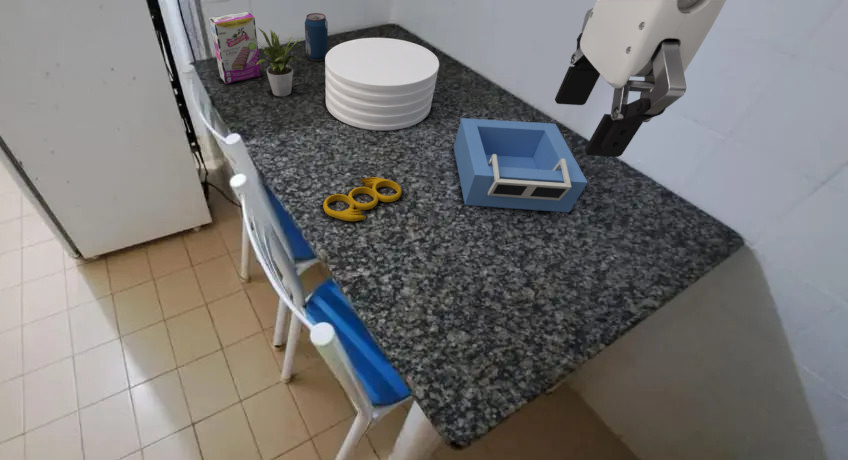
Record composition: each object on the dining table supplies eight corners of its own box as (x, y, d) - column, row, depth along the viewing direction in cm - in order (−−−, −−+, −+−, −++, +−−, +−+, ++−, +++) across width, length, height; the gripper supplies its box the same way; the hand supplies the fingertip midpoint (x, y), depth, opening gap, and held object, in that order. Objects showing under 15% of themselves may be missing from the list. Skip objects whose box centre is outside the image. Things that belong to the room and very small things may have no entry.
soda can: (331, 54, 126) (331, 14, 117) (322, 63, 121) (321, 21, 113) (311, 51, 127) (310, 11, 119) (302, 59, 123) (300, 18, 114)
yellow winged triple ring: (314, 197, 78) (335, 229, 72) (314, 191, 77) (335, 223, 70) (386, 176, 83) (412, 205, 77) (387, 170, 82) (413, 199, 75)
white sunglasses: (559, 200, 73) (571, 187, 69) (488, 195, 73) (496, 182, 70) (553, 172, 76) (565, 158, 72) (485, 168, 76) (492, 153, 73)
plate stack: (452, 114, 100) (463, 70, 92) (357, 141, 91) (360, 95, 83) (393, 71, 118) (397, 31, 109) (308, 90, 109) (306, 48, 100)
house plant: (241, 92, 108) (230, 29, 96) (277, 75, 115) (271, 15, 103) (277, 109, 102) (270, 44, 90) (312, 90, 109) (310, 27, 97)
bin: (541, 152, 89) (555, 123, 84) (569, 212, 75) (587, 182, 70) (453, 147, 90) (461, 117, 85) (464, 205, 77) (474, 174, 71)
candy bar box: (226, 85, 110) (213, 23, 98) (220, 78, 113) (207, 17, 101) (262, 76, 114) (254, 15, 103) (255, 70, 117) (247, 10, 106)
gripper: (851, -58, 22) (662, 182, 34) (688, -100, 34) (591, 89, 46) (709, -63, 22) (573, 176, 34) (597, -102, 34) (526, 86, 46)
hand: (583, 126), depth 40 cm, fingers open, 9 cm apart
